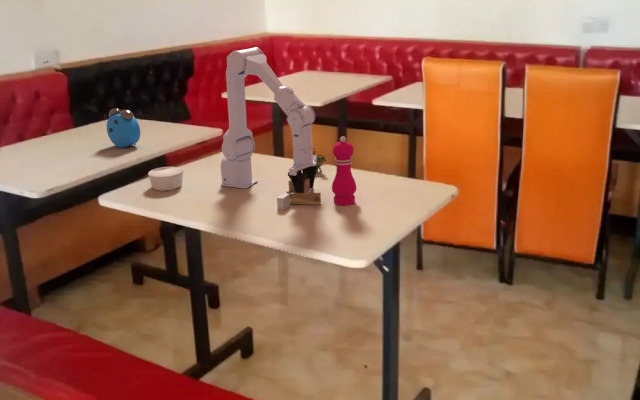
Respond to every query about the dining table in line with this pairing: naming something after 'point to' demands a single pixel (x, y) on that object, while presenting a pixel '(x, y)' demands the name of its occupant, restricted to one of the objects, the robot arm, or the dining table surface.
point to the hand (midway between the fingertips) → (304, 191)
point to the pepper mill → (343, 174)
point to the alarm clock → (123, 128)
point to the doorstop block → (306, 187)
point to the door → (305, 198)
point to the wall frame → (284, 200)
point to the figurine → (319, 159)
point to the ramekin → (166, 178)
